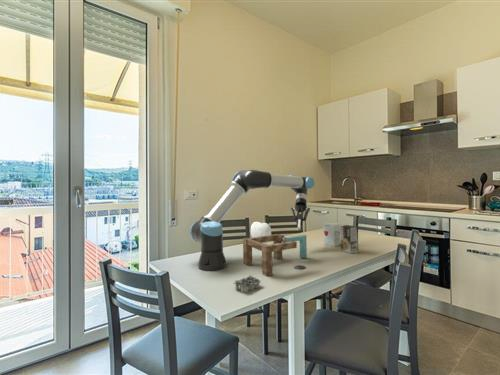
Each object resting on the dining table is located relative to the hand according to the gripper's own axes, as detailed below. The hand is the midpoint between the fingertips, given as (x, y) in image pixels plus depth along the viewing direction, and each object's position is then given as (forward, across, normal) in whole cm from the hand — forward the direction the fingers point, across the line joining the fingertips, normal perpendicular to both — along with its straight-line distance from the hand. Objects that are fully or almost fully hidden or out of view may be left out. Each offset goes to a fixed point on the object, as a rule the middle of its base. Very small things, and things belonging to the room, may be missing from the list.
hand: (299, 228), depth 178 cm
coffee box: (+7, -31, -14) cm, 34 cm away
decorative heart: (+6, +27, -15) cm, 31 cm away
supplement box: (-5, -20, -26) cm, 34 cm away
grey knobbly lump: (+58, +15, +37) cm, 70 cm away
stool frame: (+35, +9, +14) cm, 39 cm away
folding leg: (+24, 0, +5) cm, 25 cm away
